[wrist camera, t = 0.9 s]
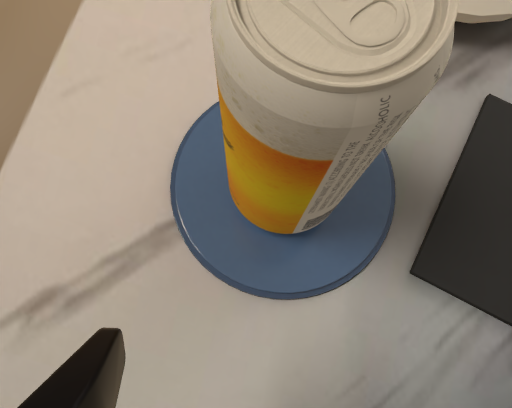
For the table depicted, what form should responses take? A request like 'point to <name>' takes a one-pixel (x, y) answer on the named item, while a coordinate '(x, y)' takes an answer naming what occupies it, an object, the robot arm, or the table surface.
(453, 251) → the mat
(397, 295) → the table surface
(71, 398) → the robot arm
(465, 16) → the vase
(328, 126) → the beer can
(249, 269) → the plate
